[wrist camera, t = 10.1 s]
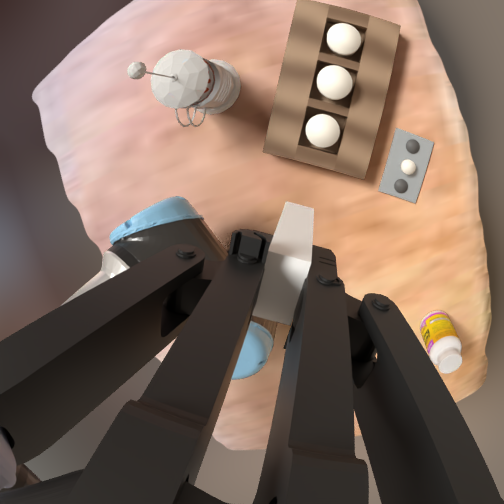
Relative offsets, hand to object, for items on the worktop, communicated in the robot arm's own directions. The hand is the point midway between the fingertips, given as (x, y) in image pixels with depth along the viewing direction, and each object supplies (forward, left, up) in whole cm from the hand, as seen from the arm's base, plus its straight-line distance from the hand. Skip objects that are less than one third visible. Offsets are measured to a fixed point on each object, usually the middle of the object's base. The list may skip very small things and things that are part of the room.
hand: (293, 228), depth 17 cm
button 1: (+4, -1, -35) cm, 35 cm away
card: (+3, -16, -36) cm, 40 cm away
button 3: (+19, -1, -35) cm, 40 cm away
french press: (+7, +18, -37) cm, 41 cm away
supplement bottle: (-24, -34, -37) cm, 55 cm away
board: (+12, -1, -36) cm, 38 cm away
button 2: (+12, -1, -33) cm, 36 cm away
